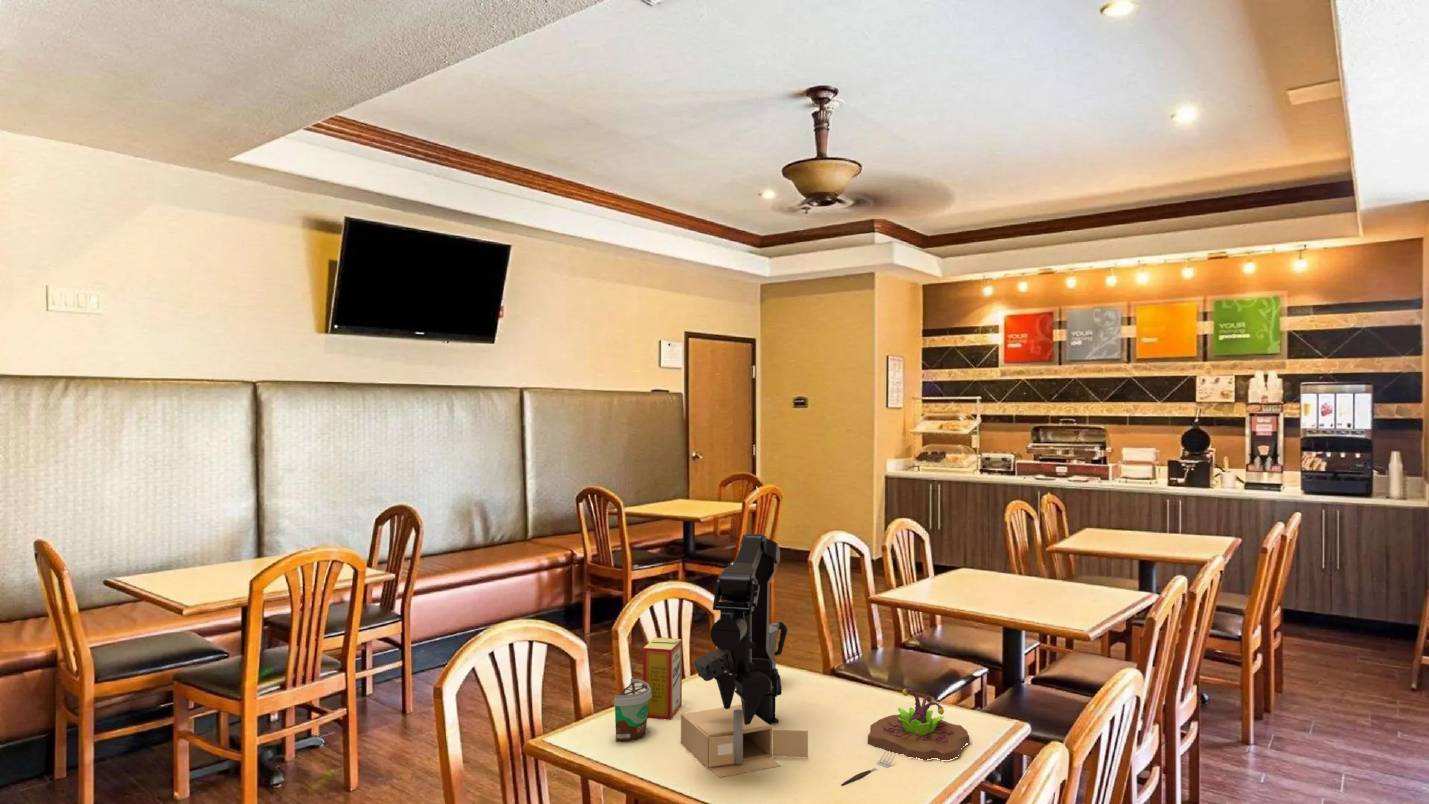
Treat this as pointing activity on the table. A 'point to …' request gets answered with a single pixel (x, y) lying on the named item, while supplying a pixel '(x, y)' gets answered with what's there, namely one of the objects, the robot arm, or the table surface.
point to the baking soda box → (663, 676)
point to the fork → (869, 770)
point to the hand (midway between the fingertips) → (736, 716)
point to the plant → (918, 732)
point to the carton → (755, 740)
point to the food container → (632, 711)
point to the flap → (728, 744)
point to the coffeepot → (773, 637)
